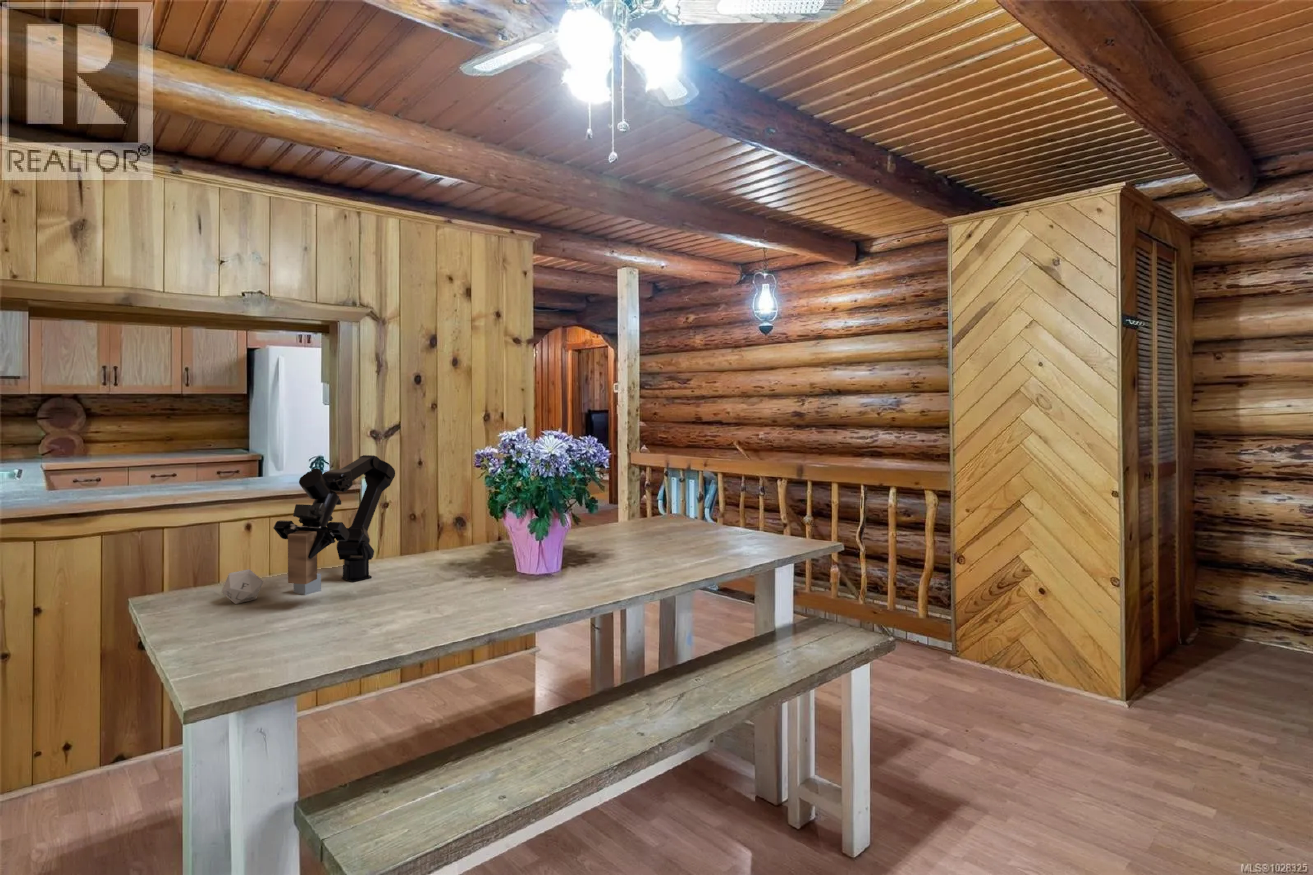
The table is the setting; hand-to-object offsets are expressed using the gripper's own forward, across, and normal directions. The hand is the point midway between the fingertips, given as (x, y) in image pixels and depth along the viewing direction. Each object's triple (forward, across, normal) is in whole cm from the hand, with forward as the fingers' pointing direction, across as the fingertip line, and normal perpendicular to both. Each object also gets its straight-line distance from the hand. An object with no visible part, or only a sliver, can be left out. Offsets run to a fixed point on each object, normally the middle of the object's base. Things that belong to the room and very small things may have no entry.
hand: (299, 557), depth 176 cm
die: (+7, -19, +12) cm, 23 cm away
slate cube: (0, -6, +19) cm, 20 cm away
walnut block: (+4, 0, +6) cm, 7 cm away
